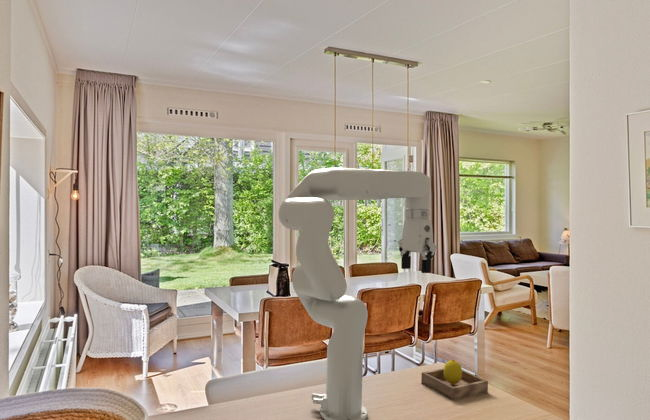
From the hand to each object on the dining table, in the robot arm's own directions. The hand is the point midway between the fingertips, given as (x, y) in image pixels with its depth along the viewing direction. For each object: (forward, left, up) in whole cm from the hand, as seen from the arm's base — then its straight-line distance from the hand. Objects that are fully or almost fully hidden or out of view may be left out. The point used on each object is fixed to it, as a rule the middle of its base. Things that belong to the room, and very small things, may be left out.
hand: (415, 270), depth 138 cm
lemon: (+12, +5, -36) cm, 38 cm away
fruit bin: (+12, +5, -36) cm, 38 cm away
